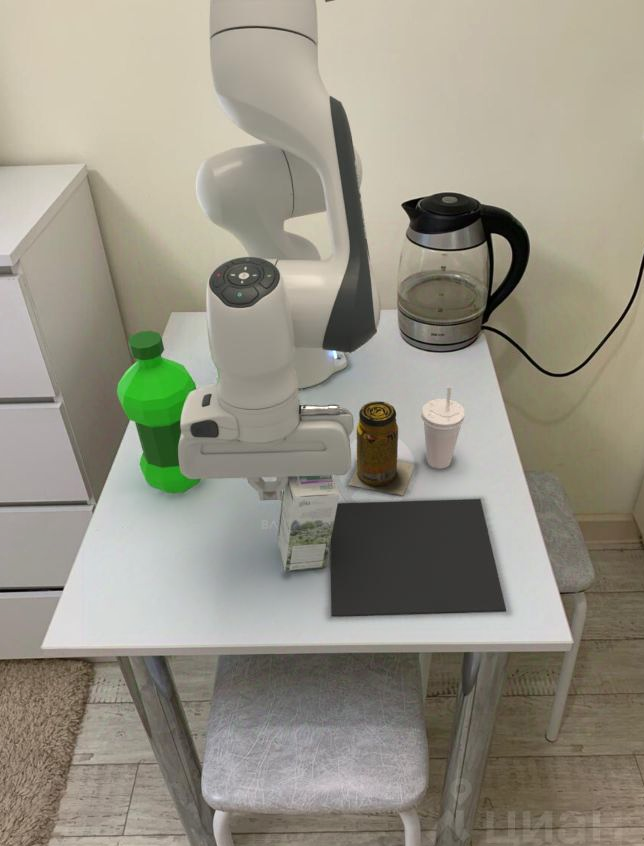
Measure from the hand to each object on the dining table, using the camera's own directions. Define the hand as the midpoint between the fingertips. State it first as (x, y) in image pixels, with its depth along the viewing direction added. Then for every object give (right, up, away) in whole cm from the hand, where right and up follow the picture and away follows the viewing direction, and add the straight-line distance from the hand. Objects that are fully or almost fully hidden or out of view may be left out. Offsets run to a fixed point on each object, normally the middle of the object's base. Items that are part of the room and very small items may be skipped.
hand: (271, 496), depth 90 cm
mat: (+18, -8, +8) cm, 22 cm away
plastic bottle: (-16, +2, +20) cm, 26 cm away
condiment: (+15, +3, +20) cm, 25 cm away
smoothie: (+24, +5, +22) cm, 33 cm away
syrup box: (+3, -8, +8) cm, 12 cm away
